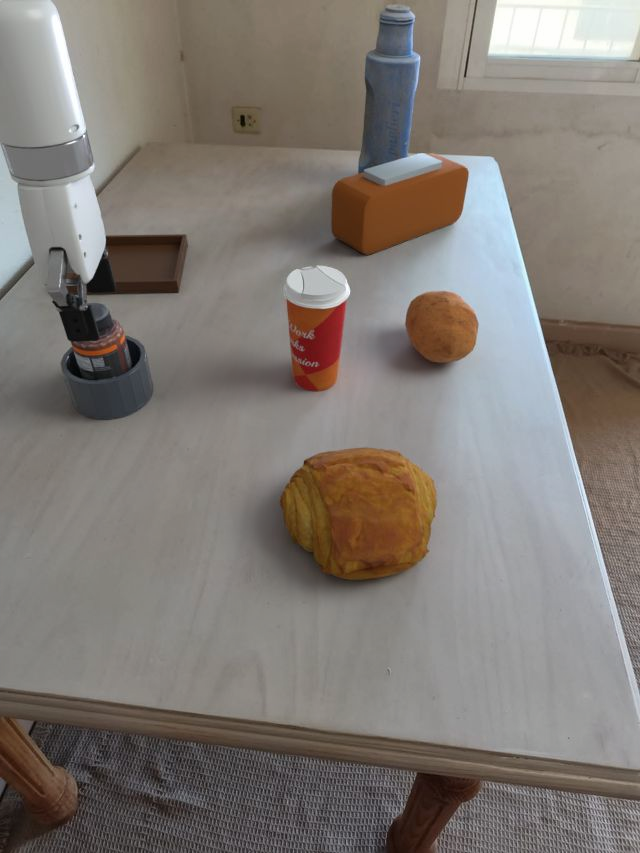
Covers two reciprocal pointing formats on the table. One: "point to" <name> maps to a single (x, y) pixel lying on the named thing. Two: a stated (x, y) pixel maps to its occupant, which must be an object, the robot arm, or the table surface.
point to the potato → (441, 326)
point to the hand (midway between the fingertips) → (94, 314)
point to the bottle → (389, 89)
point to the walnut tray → (144, 263)
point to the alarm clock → (398, 201)
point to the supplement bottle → (103, 349)
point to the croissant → (360, 511)
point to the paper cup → (316, 324)
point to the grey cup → (110, 386)
